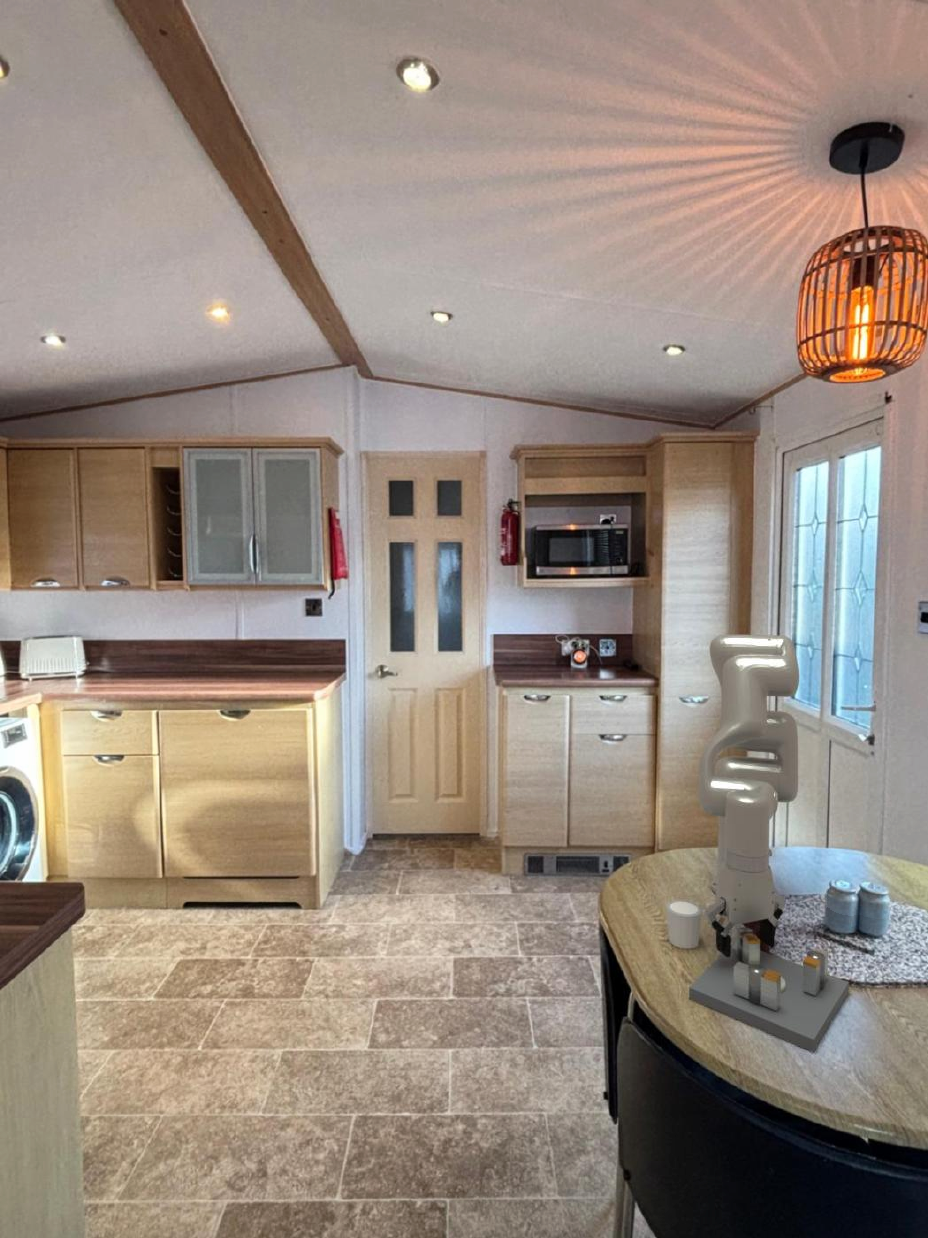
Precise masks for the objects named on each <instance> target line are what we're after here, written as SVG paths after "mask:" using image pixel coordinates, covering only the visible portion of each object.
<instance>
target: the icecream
mask: <svg viewBox="0 0 928 1238" xmlns="http://www.w3.org/2000/svg"><path fill="white" fill-rule="evenodd" d="M743 925H744V926H745V927H746V928H749V929H751V930H753V931H754V935H756V936H757V937H758V938H759V940H760V920H758V921H753V922H748V923H743ZM778 926H779V924H778V925H777V926H775V933H777V932H776V931H777V928H778ZM760 951H763V952H766V953H768V954H770V947H769V946H768V945H766V944H765V943H764V942H762V941H761V940H760Z"/></svg>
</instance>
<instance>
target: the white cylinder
mask: <svg viewBox="0 0 928 1238" xmlns="http://www.w3.org/2000/svg"><path fill="white" fill-rule="evenodd" d="M665 909H666V920H667V931H668V932H667V933H668V941H669V942H670V944H672V945H673V946H674V947H675V948H676V947H678V949H679V948H680V949H683V948H686V949H685V950H687V948H689V949H690V948H692V949H695V948H697V947H698V946H699V942H700V941H699V939H700V931H701V921H702V912H703V910H702V907H700V905H698V904H697V903H694V902H692V901H689V900H683V899H680V900H679V899H675V900H671V901H669V902H668V903H666V906H665ZM689 949H688V950H689ZM690 950H691V949H690Z"/></svg>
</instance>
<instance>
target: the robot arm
mask: <svg viewBox="0 0 928 1238" xmlns="http://www.w3.org/2000/svg"><path fill="white" fill-rule="evenodd" d="M709 655H710V660H711V664H712V667H713V670H714V673H715V675H716V676H717V680H718V681H719V686H720V689H721V690H720V691H721V728H720V729H719V730H718V731H717V732H716V733H715V734H714V735H713V736H712V737H711V738H710V740H709V741H708V742H707V744H706V745H705V746H704V748H703V751H702V753H701V756H700V757H699V758H700V759H699V765H698V787H697V788H698V791H697V792H698V793H697V795H698V802H699V803H698V804H699V806H700V808H701V811H703V812H704V813H705V814H708V815H710V816H714V817H715V816H716V817H718V820H717V821H718V822H717V824H718V825H717V826H718V828H717V833H718V834H717V837H718V838H717V876H715V877H714V878H712V879H711V881H710V888H711V890H712V892H713V893H714V894H715V899H714V901H715V902H714V903H713V904H712V905H710V906H709V907H708V908H706V909H705V910H704V911H703V914H704V917H705V918H706V920H707V922H708V924H709V925H710V926H711V927H712V928H713V929H714V930H715V946H716V949H717V951H718V952H719V953H721V955H722V954H723V955H725V956H726V957H730V955H731V944H732V936H730V935H729V933H730V932H731V931H732V927H733V926H734V925H737V924H743V923H748V922H753V921H758V920H760V940H761V941H762V942H764V943H765V944H766V945H768V946H769V948H773V949H774V948H775V943H776V939H775V937H776V932H775V926H777V925H778V926H779V920H780V918H781V917H782V916H783V914H784V911H783V910H784V909H785V906H786V904H787V899H786V898H784V897H783V896H782V895H779V894H777V893H775V885H774V884H775V883H774V878H773V877H774V876H773V872H772V871H773V870H772V867H771V865H770V857H773V856H772V855H773V851H772V849H770V820H771V819H772V818H773V816H774V814H776V813H777V811H778V806H779V803H791V802H793V801H795V800H796V798H797V795H798V791H799V736H798V733H799V732H798V726H797V722H796V720H795V718H794V716H792V714H790V713H789V712H787V711H781V710H768V699H767V698H768V697H783V698H784V697H786V698H787V697H793V696H794V695H795V694H797V692H798V689H799V685H800V669H799V668H800V667H799V662H798V657H797V654H796V648H795V645H794V642H793V640H792V639H791V638H790V637H788V636H785V635H780V634H779V635H778V634H777V635H772V634H769V635H768V634H723V635H720V636H719V635H718V636H716V637H714V638H713V639H712V640H711V641H710V644H709ZM728 749H730V750H736V751H742V752H743V751H744V752H756V753H768V754H769V753H770V754H773V755H774V756H775V757H776V758H765V757H755V756H754V757H753V756H742V755H728V756H725V757H722V758H720V759H719V760H717V758H718V756H719V755H720V754H721V753H722V752H724V751H725V750H728ZM716 760H717V762H715V761H716ZM715 763H716V764H715ZM717 916H718V917H717ZM725 921H726V922H725ZM724 923H725V924H724ZM723 924H724V926H723ZM778 926H777V927H778Z"/></svg>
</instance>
